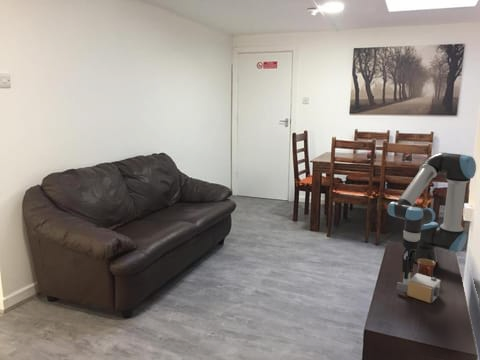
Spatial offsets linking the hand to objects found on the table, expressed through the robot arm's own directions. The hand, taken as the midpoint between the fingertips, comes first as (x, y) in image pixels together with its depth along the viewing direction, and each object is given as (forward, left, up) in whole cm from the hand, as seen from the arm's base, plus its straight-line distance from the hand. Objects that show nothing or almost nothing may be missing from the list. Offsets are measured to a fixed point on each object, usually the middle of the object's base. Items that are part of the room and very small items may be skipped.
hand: (405, 284), depth 197 cm
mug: (-16, +4, -3) cm, 17 cm away
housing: (0, +9, -3) cm, 9 cm away
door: (+6, +6, -2) cm, 9 cm away
